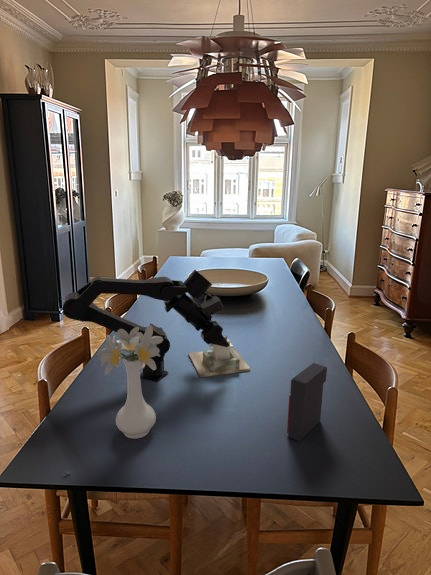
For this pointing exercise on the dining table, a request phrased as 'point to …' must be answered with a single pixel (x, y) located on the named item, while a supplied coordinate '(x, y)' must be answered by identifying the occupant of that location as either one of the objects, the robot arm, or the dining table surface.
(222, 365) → the plate
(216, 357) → the block
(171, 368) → the dining table surface
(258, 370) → the dining table surface
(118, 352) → the flower vase
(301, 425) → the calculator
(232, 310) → the dining table surface
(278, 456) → the dining table surface
